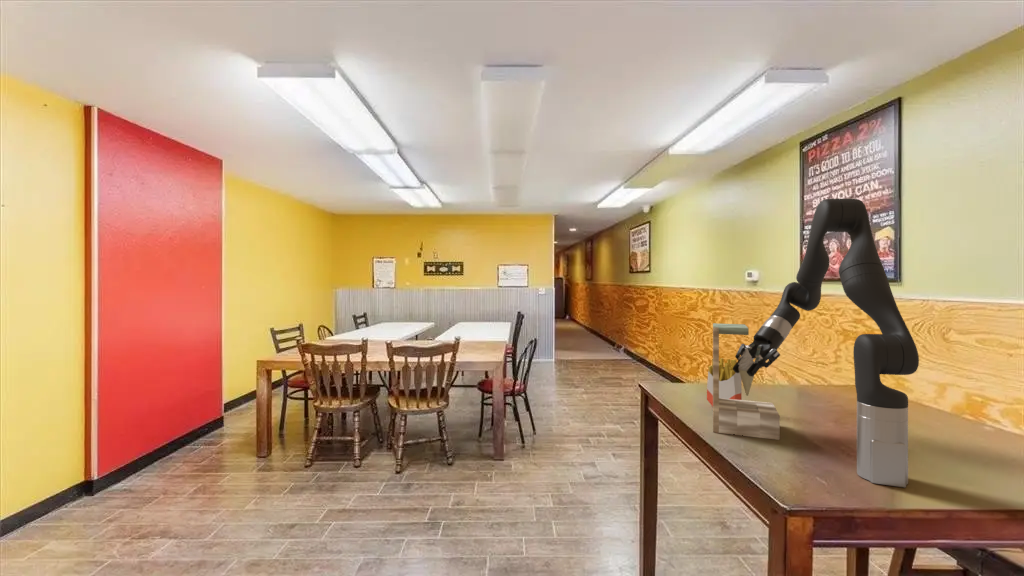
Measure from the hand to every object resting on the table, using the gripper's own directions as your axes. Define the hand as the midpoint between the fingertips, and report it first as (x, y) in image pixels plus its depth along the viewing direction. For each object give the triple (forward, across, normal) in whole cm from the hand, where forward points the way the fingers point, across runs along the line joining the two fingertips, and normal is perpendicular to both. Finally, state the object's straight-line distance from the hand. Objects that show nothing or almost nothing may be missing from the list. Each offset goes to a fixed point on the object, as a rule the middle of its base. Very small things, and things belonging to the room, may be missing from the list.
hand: (742, 372), depth 142 cm
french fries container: (+4, -22, +21) cm, 30 cm away
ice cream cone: (+4, 0, +6) cm, 8 cm away
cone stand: (+11, 0, +14) cm, 18 cm away
